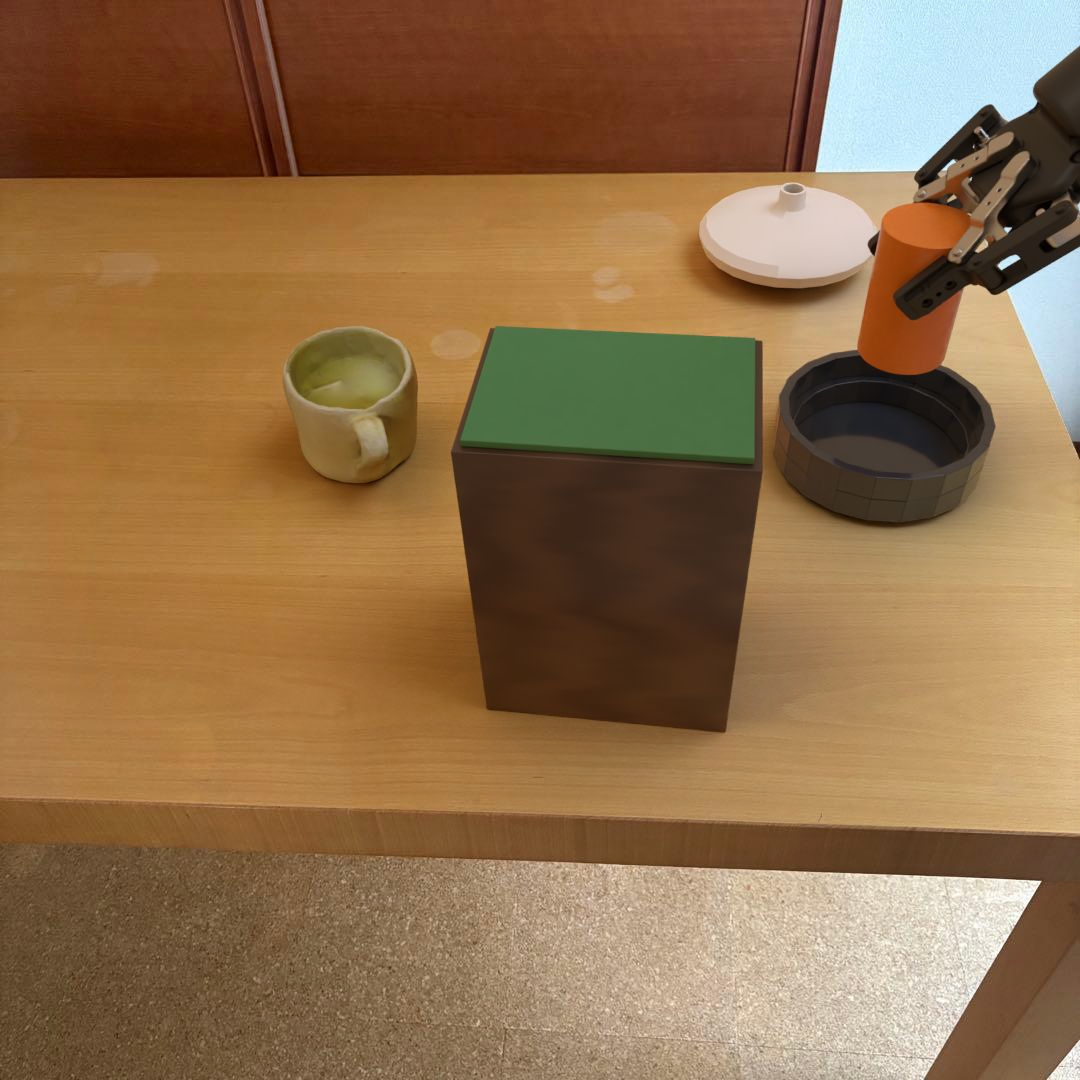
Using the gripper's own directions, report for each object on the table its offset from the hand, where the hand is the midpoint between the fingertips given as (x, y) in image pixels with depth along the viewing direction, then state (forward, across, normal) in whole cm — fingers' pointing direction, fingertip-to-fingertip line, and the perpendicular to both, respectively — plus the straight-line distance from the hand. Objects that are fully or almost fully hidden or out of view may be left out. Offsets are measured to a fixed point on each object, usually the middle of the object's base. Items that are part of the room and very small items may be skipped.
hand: (889, 281), depth 65 cm
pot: (+9, 0, +12) cm, 15 cm away
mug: (+36, -3, -14) cm, 39 cm away
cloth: (+9, +17, -17) cm, 25 cm away
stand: (+24, +17, -3) cm, 29 cm away
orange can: (+3, 0, +5) cm, 6 cm away
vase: (+10, -28, +11) cm, 32 cm away
